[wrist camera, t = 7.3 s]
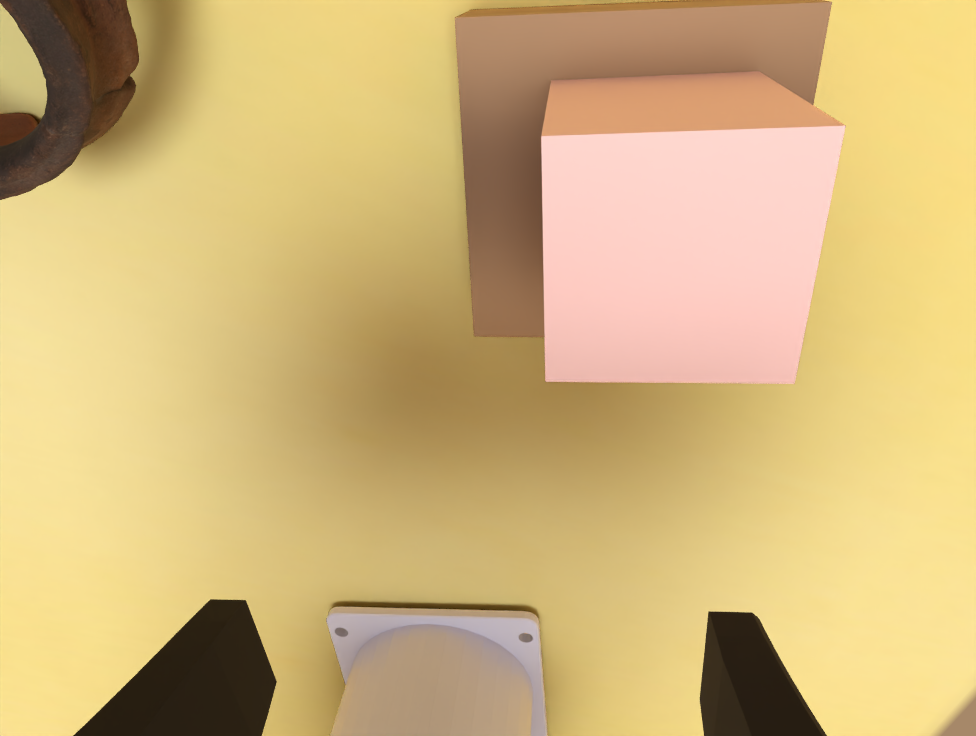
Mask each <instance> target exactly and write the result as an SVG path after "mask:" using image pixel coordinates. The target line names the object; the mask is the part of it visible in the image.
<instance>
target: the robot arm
mask: <svg viewBox="0 0 976 736" xmlns="http://www.w3.org/2000/svg"><path fill="white" fill-rule="evenodd" d="M326 622H327V625H328V629H329V632H330V635H331V639H332V642H333V645H334V649H335V652H336V655H337V659H338V662H339V665H340V669H341V672H342V675H343V679H344V682H345V685H346V687H345V690H344V693H343V696H342V699H341V703H340V706H339V709H338V712H337V715H336V719H335V722H334V725H333V728H332V731H331V734H330V736H548V731H547V718H546V705H545V692H544V679H543V666H542V653H541V640H540V627H539V619H538V617H537V616H536V615H535V614H533V613H531V612H527V611H500V610H460V609H420V608H380V607H334V608H332V609H330V611H329V613H328V615H327V618H326ZM526 633H528V634H526ZM276 682H277V681H276V679H275V676H274V674H273V671H272V668H271V666H270V663H269V660H268V658H267V655H266V652H265V650H264V647H263V644H262V642H261V639H260V637H259V634H258V631H257V629H256V626H255V623H254V621H253V618H252V615H251V613H250V610H249V607H248V605H247V602H246V600H212V599H211V600H210V601H209V602H207V603H206V604H205V605H204V606H203V607H202V608H201V609H200V610H199V611H198V612H197V613H196V614H195V615H194V616H193V617H192V618H191V619H190V620H189V621H188V622H187V623H186V624H185V625H184V626H183V627H182V628H181V629H180V630H179V631H178V632H177V633H176V634H175V635H174V637H173V638H172V639H171V640H170V641H169V642H168V643H167V644H166V645H165V646H164V647H163V648H162V649H161V650H160V651H159V652H158V653H157V654H156V655H155V656H154V657H153V658H152V659H151V660H150V661H149V662H148V663H147V664H146V665H145V666H144V667H143V668H142V669H141V670H140V671H139V672H138V673H137V674H136V675H135V676H134V677H133V678H132V679H131V680H130V681H129V682H128V683H127V684H126V685H125V686H124V687H123V688H122V689H121V690H120V691H119V692H118V693H117V694H116V695H115V696H114V697H113V698H112V699H111V700H110V701H109V702H108V703H107V704H106V705H105V706H104V707H103V708H102V709H101V710H100V711H99V712H98V713H97V714H96V715H95V716H93V717H92V718H91V719H90V720H89V721H88V722H87V723H86V724H85V725H84V726H83V727H82V728H81V729H80V730H79V731H78V732H77V733H76V734H75V735H74V736H262V732H263V729H264V726H265V722H266V719H267V715H268V712H269V708H270V704H271V701H272V697H273V693H274V690H275V686H276ZM700 705H701V713H702V721H703V730H704V736H827V735H826V734H825V732H824V731H823V729H822V728H821V726H820V724H819V723H818V721H817V720H816V718H815V716H814V715H813V713H812V712H811V710H810V708H809V707H808V705H807V704H806V702H805V700H804V699H803V697H802V695H801V694H800V692H799V690H798V689H797V687H796V685H795V684H794V682H793V680H792V679H791V677H790V675H789V673H788V672H787V670H786V668H785V666H784V665H783V663H782V661H781V659H780V658H779V656H778V654H777V652H776V650H775V649H774V647H773V645H772V643H771V641H770V639H769V637H768V635H767V633H766V632H765V630H764V628H763V626H762V624H761V622H760V620H759V618H758V617H757V616H755V615H754V614H753V613H745V612H709V613H708V623H707V633H706V643H705V653H704V662H703V672H702V682H701V692H700Z"/></svg>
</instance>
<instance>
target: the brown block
mask: <svg viewBox="0 0 976 736" xmlns="http://www.w3.org/2000/svg"><path fill="white" fill-rule="evenodd" d="M831 5H832V2H829V1H823V0H684V1H661V2H638V3H615V4H591V5H568V6H545V7H521V8H498V9H475V10H470V11H468V12H466V13H463V14H461V15H459V16H457V17H455V29H456V45H457V62H458V78H459V95H460V111H461V128H462V145H463V161H464V178H465V194H466V211H467V228H468V244H469V261H470V277H471V294H472V311H473V327H474V336H494V337H545V333H544V273H543V213H542V153H541V135H542V129H543V123H544V118H545V112H546V106H547V101H548V95H549V90H550V84H551V80H570V79H593V78H615V77H638V76H661V75H684V74H707V73H730V72H752V71H759V72H761V73H763V74H764V75H766V76H767V77H769V78H770V79H772V80H774V81H775V82H777V83H778V84H780V85H782V86H783V87H785V88H786V89H788V90H790V91H791V92H793V93H794V94H796V95H798V96H799V97H801V98H802V99H804V100H805V101H807V102H809V103H810V104H812V105H813V103H814V98H815V92H816V87H817V81H818V76H819V71H820V65H821V60H822V54H823V49H824V43H825V38H826V32H827V27H828V21H829V16H830V10H831Z"/></svg>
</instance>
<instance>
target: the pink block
mask: <svg viewBox="0 0 976 736" xmlns="http://www.w3.org/2000/svg"><path fill="white" fill-rule="evenodd" d="M844 131H845V125H844V124H842V123H840V122H839V121H837V120H836V119H834V118H832V117H831V116H829V115H828V114H826V113H825V112H823V111H821V110H820V109H818V108H817V107H815V106H813V105H812V104H810V103H809V102H807V101H805V100H804V99H802V98H801V97H799V96H798V95H796V94H794V93H793V92H791V91H790V90H788V89H786V88H785V87H783V86H782V85H780V84H778V83H777V82H775V81H774V80H772V79H770V78H769V77H767V76H766V75H764V74H763V73H761V72H759V71H752V72H730V73H707V74H684V75H661V76H638V77H615V78H593V79H570V80H551V84H550V90H549V95H548V101H547V106H546V112H545V118H544V123H543V129H542V135H541V153H542V213H543V273H544V333H545V382H640V383H768V384H795V379H796V374H797V369H798V364H799V359H800V354H801V349H802V344H803V339H804V334H805V329H806V324H807V319H808V314H809V308H810V303H811V298H812V293H813V288H814V283H815V278H816V273H817V268H818V263H819V258H820V253H821V248H822V243H823V238H824V233H825V227H826V222H827V217H828V212H829V207H830V202H831V197H832V192H833V187H834V182H835V177H836V172H837V167H838V162H839V157H840V152H841V147H842V141H843V136H844Z"/></svg>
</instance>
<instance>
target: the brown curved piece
mask: <svg viewBox="0 0 976 736" xmlns="http://www.w3.org/2000/svg"><path fill="white" fill-rule="evenodd" d="M0 3H1V4H2V6H3V7H4V8H5V9H6V10H7V11H8V12H9V14H10V15H11V16H12V17H13V18H14V20H15V21H16V23H17V25H18V27H19V29H20V30H21V32H22V33H23V34H24V36H25V37H26V39H27V41H28V43H29V44H30V46H31V47H32V49H33V51H34V53H35V55H36V57H37V58H38V61H39V63H40V66H41V68H42V70H43V74H44V77H45V79H46V87H47V95H48V96H47V104H46V109H45V114H44V116H43V118H42V119H41V121H40V123H39V124H38V123H37V121H36V120H35V119H34V118H33V117H32V116H31V115H28V114H22V113H12V114H0V200H2V199H5V198H9V197H12V196H18V195H20V194H23V193H26V192H29V191H31V190H33V189H34V188H36V187H37V186H39V185H41V184H44V183H46V182H49V181H51V180H53V179H54V178H56V177H57V176H59V175H60V174H61V173H62V172H63V171H65V170H66V169H67V168H68V167H69V166H70V165H72V163H73V162H74V160H75V159H76V157H77V155H78V154H79V152H80V150H81V149H82V148H84V147H85V146H87V145H89V144H91V143H93V142H94V141H95V140H97V139H98V138H99V137H101V136H102V135H104V134H105V133H106V132H107V131H108V130H109V129H111V127H113V126H114V124H115V123H116V122H117V121H118V120H119V118H120V117H121V116H122V114H123V112H124V110H125V109H126V107H127V106H128V104H129V102H130V101H131V99H132V97H133V95H134V93H135V88H136V85H135V82H134V80H133V79H132V77H131V76H130V74H131V73H132V72H133V71H134V70H135V69H136V67H137V65H138V62H139V54H138V46H137V39H136V35H135V32H134V29H133V27H132V23H131V17H130V14H129V11H128V8H127V1H126V0H0Z"/></svg>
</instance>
